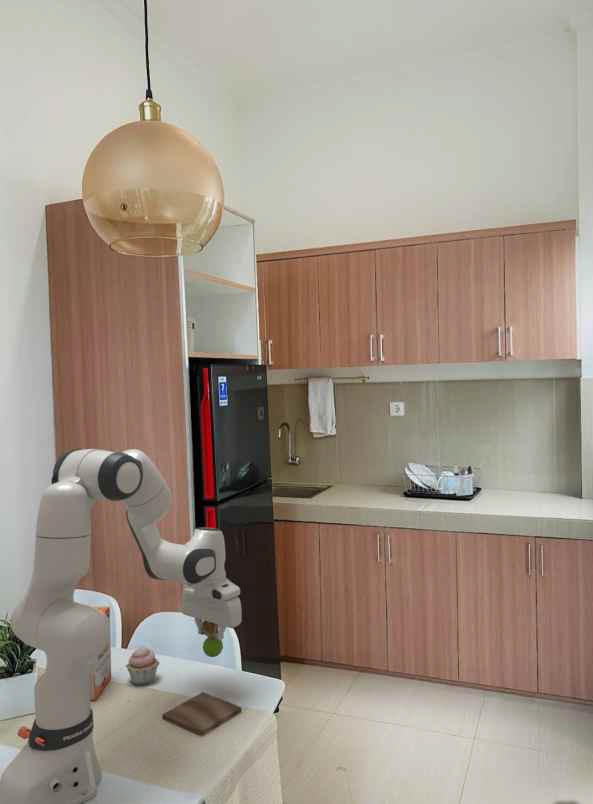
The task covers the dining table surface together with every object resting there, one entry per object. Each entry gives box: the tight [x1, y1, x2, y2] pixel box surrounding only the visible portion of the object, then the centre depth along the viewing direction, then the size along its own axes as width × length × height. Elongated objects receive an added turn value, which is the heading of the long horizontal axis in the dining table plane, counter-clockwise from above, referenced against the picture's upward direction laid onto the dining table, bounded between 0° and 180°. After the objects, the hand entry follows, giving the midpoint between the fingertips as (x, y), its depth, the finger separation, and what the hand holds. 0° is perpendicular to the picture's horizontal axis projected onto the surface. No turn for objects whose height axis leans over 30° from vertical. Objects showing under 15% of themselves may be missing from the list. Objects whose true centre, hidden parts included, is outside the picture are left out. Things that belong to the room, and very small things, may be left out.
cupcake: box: [125, 644, 160, 686], centre depth 186 cm, size 9×9×10 cm
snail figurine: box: [202, 620, 224, 658], centre depth 179 cm, size 5×6×12 cm
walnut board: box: [162, 691, 242, 737], centre depth 166 cm, size 14×14×1 cm
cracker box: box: [90, 605, 112, 701], centre depth 181 cm, size 14×6×21 cm, turn 179°
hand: (210, 636), depth 179 cm, fingers closed on snail figurine, 5 cm apart
